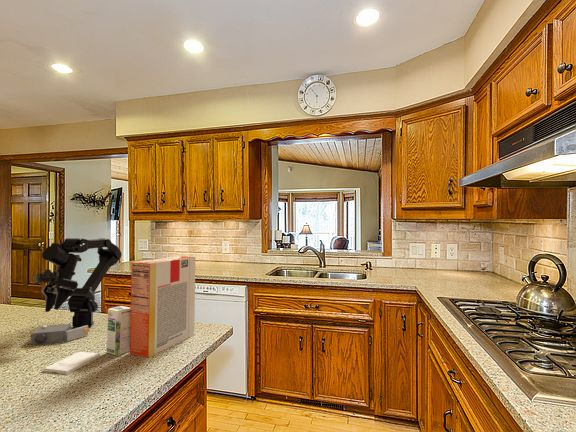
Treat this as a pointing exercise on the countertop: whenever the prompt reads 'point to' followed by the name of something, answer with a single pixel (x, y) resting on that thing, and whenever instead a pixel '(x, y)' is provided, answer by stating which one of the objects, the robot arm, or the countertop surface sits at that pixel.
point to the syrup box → (118, 330)
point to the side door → (76, 333)
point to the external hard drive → (72, 362)
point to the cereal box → (161, 303)
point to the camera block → (49, 334)
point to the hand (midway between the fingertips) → (51, 310)
